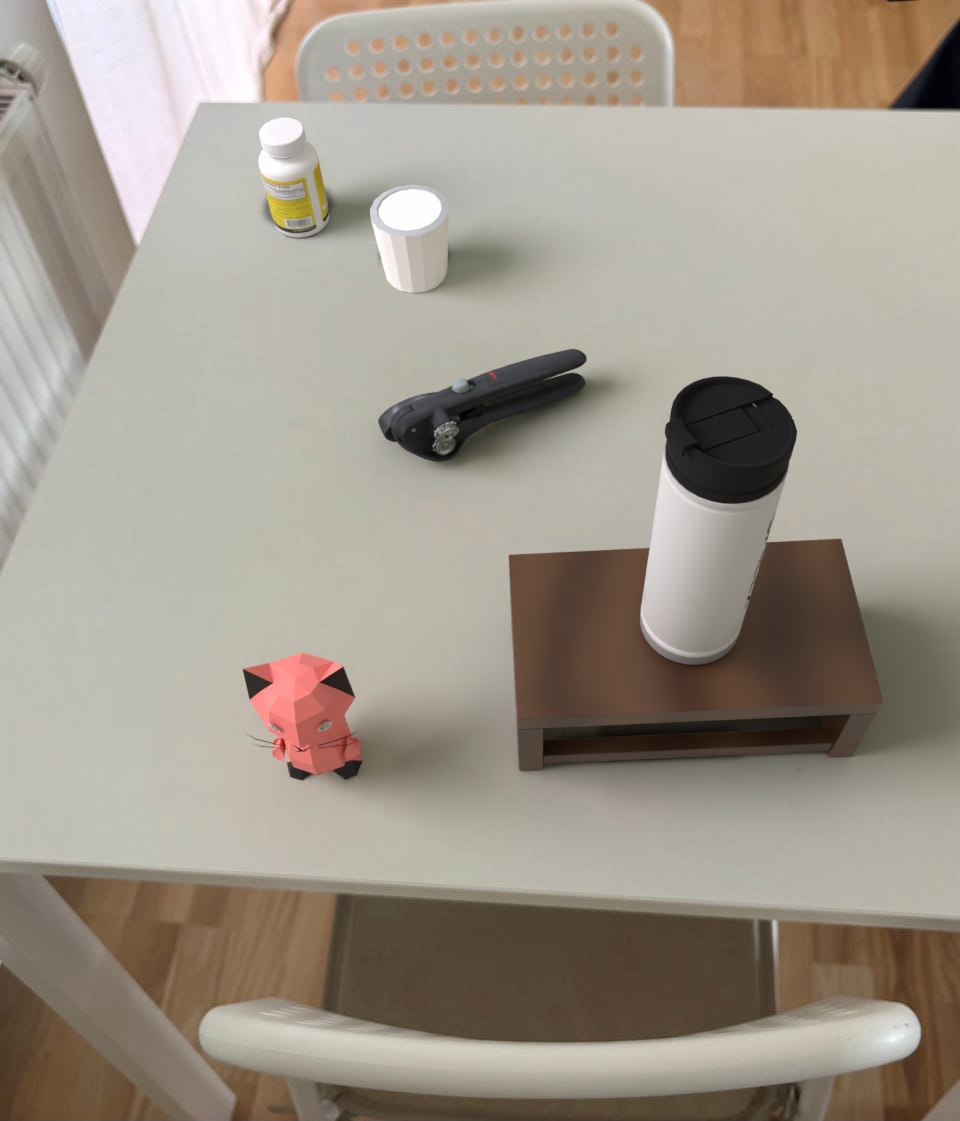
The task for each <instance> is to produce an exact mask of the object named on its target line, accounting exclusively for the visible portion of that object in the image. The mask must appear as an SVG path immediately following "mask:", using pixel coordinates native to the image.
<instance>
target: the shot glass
mask: <svg viewBox="0 0 960 1121" xmlns="http://www.w3.org/2000/svg"><path fill="white" fill-rule="evenodd" d="M449 208H450V207H449V203H448V200H447V198H446V197H445V196H444V195H443V194H442V193H441V192H440V191H438V190H437V189H434V188H432V187H430V186H427V185H422V184H421V185H419V184H405V185H397V186H395V187H392V188H390V189H388V190H385V191H383V192H382V193H381V194H379V195H378V196H377V197H376V198H375V199H374V200H373V202H372V204H371V206H370V208H369V215H370V222H371V225H372V229H373V233H374V238H375V242H376V245H377V248H378V251H379V255H380V258H381V263H382V266H383V270H384V274H385V277H386V280H387V282H388V283H389V284H390V285H391V287H393V288H394V289H396V290H398V291H400V292H402V293H409V294H419V293H427V292H428V291H431V290H433V289H435V288H437V287H438V286H440V284H442V283H443V282H444V281H445V280H446V276H447V273H448V262H449V261H448V258H449V257H448V255H449V254H448V253H449V221H450V219H449V218H450V210H449Z"/></svg>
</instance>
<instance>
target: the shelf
mask: <svg viewBox="0 0 960 1121" xmlns="http://www.w3.org/2000/svg"><path fill="white" fill-rule="evenodd" d="M649 549H650V547H642V548H641V547H638V548H620V549H599V550H579V551H557V552H556V551H555V552H537V553H535V552H534V553H515V554H508V574H509V575H508V576H509V578H508V580H509V598H510V599H509V601H510V602H509V603H510V621H511V622H510V623H511V624H510V625H511V642H512V660H513V661H512V662H513V680H514V682H513V684H514V701H515V719H516V720H515V721H516V739H517V740H516V743H517V760H518V771H519V772H523V771H524V772H526V771H527V772H528V771H543V770H544V764H561V763H562V764H563V763H564V764H565V763H585V762H586V763H588V762H607V761H608V762H609V761H610V762H611V761H632V760H653V759H656V760H657V759H676V758H677V759H678V758H697V757H701V758H702V757H720V756H725V757H726V756H743V755H747V756H748V755H769V754H789V753H790V754H791V753H792V754H793V753H814V752H826V754H827V757H828V758H845V757H846V758H847V757H853V755H854V754H855V752H856V751H857V749H858V747H859V745H860V744H861V742H862V740H863V739H864V737H865V735H866V733H867V732H868V730H869V728H870V726H871V724H872V723H873V721H874V720H875V718H876V716H877V715H878V712H879V711H880V709H881V707H882V706H883V704H884V698H883V694H882V689H881V687H880V683H879V679H878V675H877V671H876V667H875V662H874V659H873V654H872V651H871V648H870V644H869V640H868V636H867V631H866V629H865V628H866V627H865V625H864V621H863V617H862V613H861V610H860V605H859V601H858V597H857V594H856V589H855V585H854V582H853V578H852V574H851V570H850V566H849V562H848V559H847V555H846V551H845V547H844V543H843V539H842V538H825V539H806V540H784V541H782V540H781V541H767V543H766V546H765V550H764V553H763V556H762V560H761V563H760V566H759V570H758V573H757V576H756V580H755V583H754V587H753V590H752V593H751V597H750V600H749V603H748V607H747V610H746V613H745V617H744V620H743V623H742V627H741V630H740V633H739V636H738V639H737V641H736V643H735V645H734V646H733V647H732V649H731V650H730V651H729V652H728V653H727V654H725V655H724V656H723V657H721V658H719V659H717V660H716V661H713V662H710V663H706V664H699V665H688V664H682V663H677V662H674V661H672V660H669V659H667V658H665V657H664V656H662V655H660V654H659V653H658V652H656V651H655V650H654V649H653V648H652V647H651V646H650V644H649V643H648V642H647V640H646V639H645V637H644V635H643V633H642V630H641V625H640V611H641V604H642V597H643V590H644V584H645V577H646V570H647V563H648V556H649ZM798 717H819V721H820V727H800V728H798V727H797V728H780V729H756V730H755V729H754V730H734V731H732V730H731V731H712V732H711V731H710V732H690V733H689V732H687V733H666V734H664V733H663V734H644V735H642V734H641V735H622V736H621V735H620V736H619V735H618V736H601V737H599V736H598V737H597V736H596V737H579V738H556V739H544V729H553V728H554V729H555V728H575V727H576V728H577V727H596V726H597V727H599V726H619V725H620V726H622V725H640V724H641V725H643V724H661V723H684V722H685V723H687V722H707V721H729V720H730V721H732V720H753V719H754V720H755V719H774V718H776V719H777V718H798Z"/></svg>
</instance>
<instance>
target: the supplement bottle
mask: <svg viewBox="0 0 960 1121" xmlns="http://www.w3.org/2000/svg"><path fill="white" fill-rule="evenodd" d="M258 135H259V136H258V137H259V140H260V145H261V148H262V150H261V151H260V152H259V153H260V154H259V155H258V167H259V172H260V176H261V179H262V183H263V184H262V185H263V187H264V191H265V195H266V199H267V203H268V206H269V207H268V208H269V210H270V214H271V217H272V222H273V223H274V226H275V228H276V230H277V231H278V232H280V233H281V234H283V235H285V236H286V237H289V238H290V237H291V238H306V237H310V236H313V235H316V234H317V233H319V232H320V231H322V230H323V229H324V228H325V227H326V226H327V225H328V223H329V220H330V208H329V203H328V199H327V194H326V188H325V184H324V179H323V174H322V170H321V164H320V160H319V159H320V158H319V156H318V152H317V150H316V148H315V146H314V145H313V144H311V143H310V142H309V141H307V134H306V131H305V127H304V124H303V123H302V122H301V121H300V120H298V119H296V118H292V117H277V118H274V119H271V120H269V121H267V122H266V123H264V124H263V125H262V126H261V127H260V129H259V132H258Z"/></svg>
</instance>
